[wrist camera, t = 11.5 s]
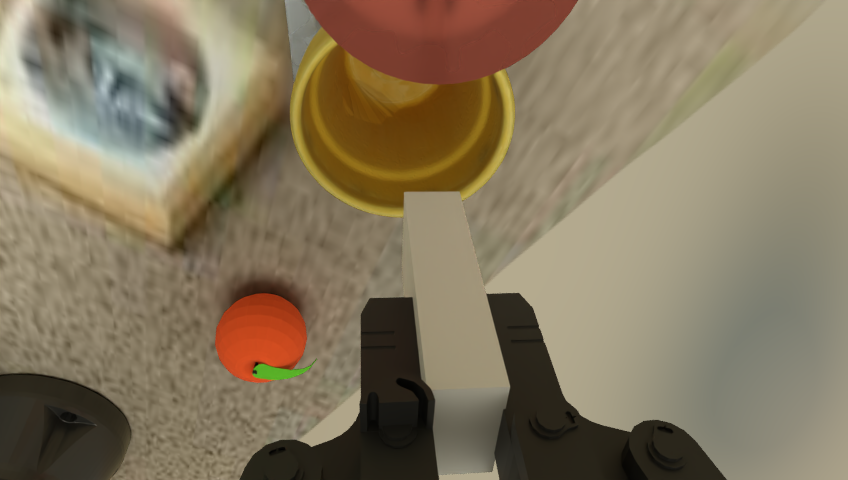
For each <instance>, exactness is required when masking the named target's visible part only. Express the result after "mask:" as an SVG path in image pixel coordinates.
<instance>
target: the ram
mask: <svg viewBox="0 0 848 480" xmlns="http://www.w3.org/2000/svg"><path fill="white" fill-rule="evenodd" d="M304 1H305V3H306V4H307V6H308V8H309V10H310V11H311V13H312V14H313V15H314V17H315V18H316V20H317V21H318V22H319V24H320V25H321V26H322V28H323V29H324V30H325V31H326V32H327V33H328V34H329V35H330V36H331V37H332V38H333V40H334V41H335V42H336V43H337V44H338V45H340V46H341V47H342V48H343V49H345V50H346V51H347V52H348V53H349V54H351V55H352V56H353V57H355V58H356V59H358V60H359V61H361V62H363V63H364V64H366V65H367V66H369V67H371V68H373V69H375V70H377V71H379V72H382V73H384V74H386V75H389V76H392V77H395V78H398V79H401V80H405V81H410V82H416V83H421V84H438V85H441V84H455V83H462V82H467V81H472V80H476V79H480V78H483V77H486V76H489V75H492V74H494V73H496V72H499V71H501V70H503V69H505V68H507V67H509V66H511V65H513V64H514V63H516V62H518V61H519V60H521V59H522V58H524V57H526V56H527V55H528V54H530V53H531V52H532V51H533V50H535V49H536V48H537V47H539V46H540V45H541V44H542V43H543V42H544V41H545V40H546V39H547V38H548V37H549V36H550V35H551V34H552V33H553V32H554V31H555V30H556V29H557V28H558V27H559V26H560V25H561V23H562V22H563V21H564V20H565V18H566V17H567V16H568V15H569V13H570V12H571V10H572V9H573V7H574V6H575V4H576V3H577V1H578V0H304Z"/></svg>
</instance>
